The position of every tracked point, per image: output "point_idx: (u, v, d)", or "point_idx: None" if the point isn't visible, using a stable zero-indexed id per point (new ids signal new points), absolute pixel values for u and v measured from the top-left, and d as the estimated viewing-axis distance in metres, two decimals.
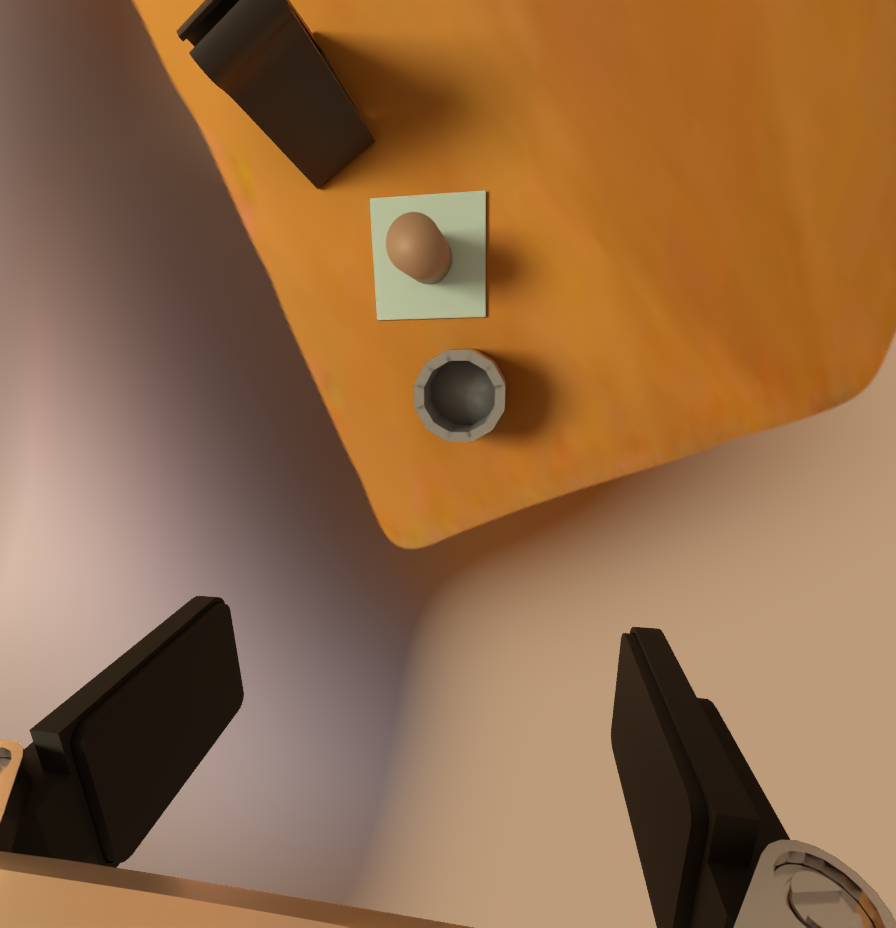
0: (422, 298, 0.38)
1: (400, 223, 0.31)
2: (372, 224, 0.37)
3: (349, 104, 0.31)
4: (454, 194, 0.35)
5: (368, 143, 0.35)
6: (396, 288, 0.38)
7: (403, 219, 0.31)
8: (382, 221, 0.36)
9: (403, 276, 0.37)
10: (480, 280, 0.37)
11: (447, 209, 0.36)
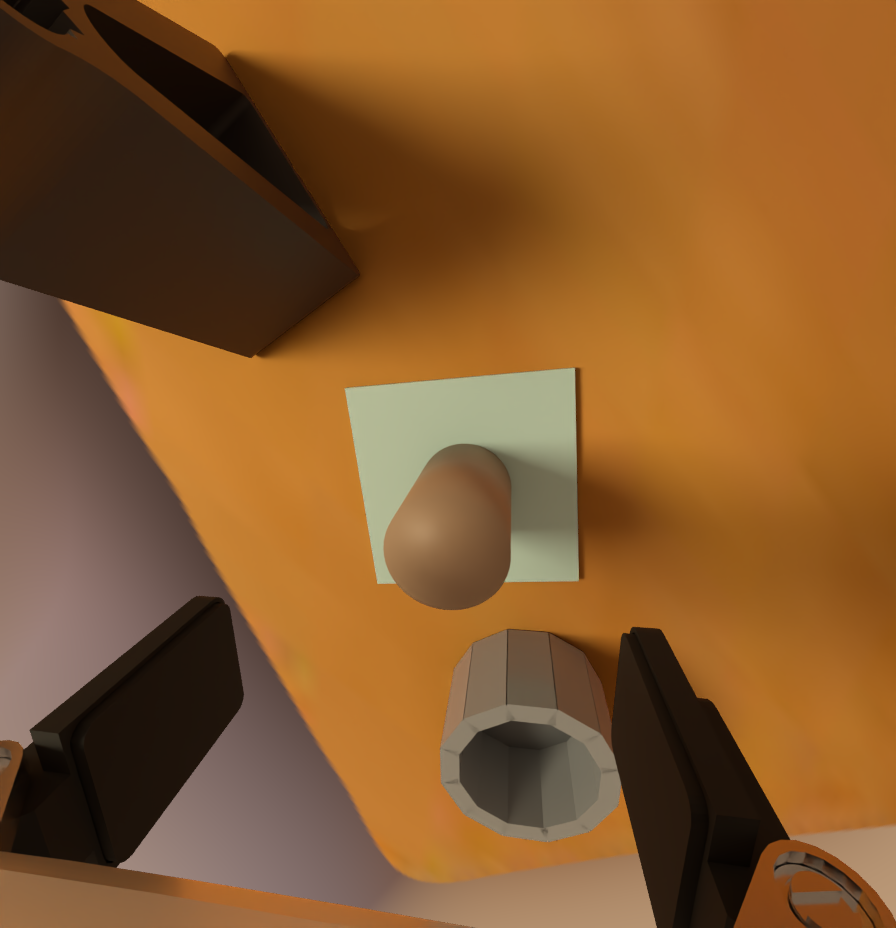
0: None
1: (413, 516, 0.13)
2: (355, 432, 0.19)
3: (297, 230, 0.14)
4: (511, 377, 0.18)
5: (347, 282, 0.17)
6: None
7: (420, 509, 0.13)
8: (372, 427, 0.19)
9: None
10: (568, 523, 0.19)
11: (498, 403, 0.18)
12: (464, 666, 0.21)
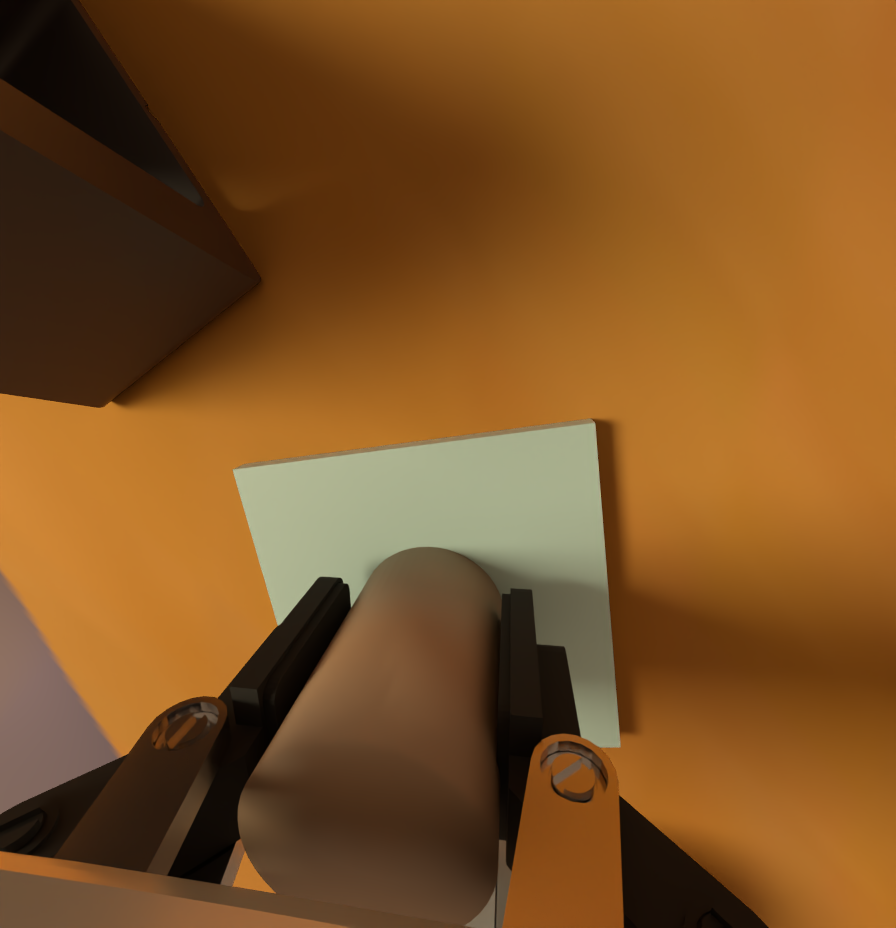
0: None
1: (289, 777, 0.06)
2: (255, 534, 0.12)
3: (94, 193, 0.07)
4: (490, 441, 0.11)
5: (237, 292, 0.11)
6: None
7: (299, 765, 0.06)
8: (281, 525, 0.12)
9: None
10: (598, 662, 0.12)
11: (473, 484, 0.11)
12: None
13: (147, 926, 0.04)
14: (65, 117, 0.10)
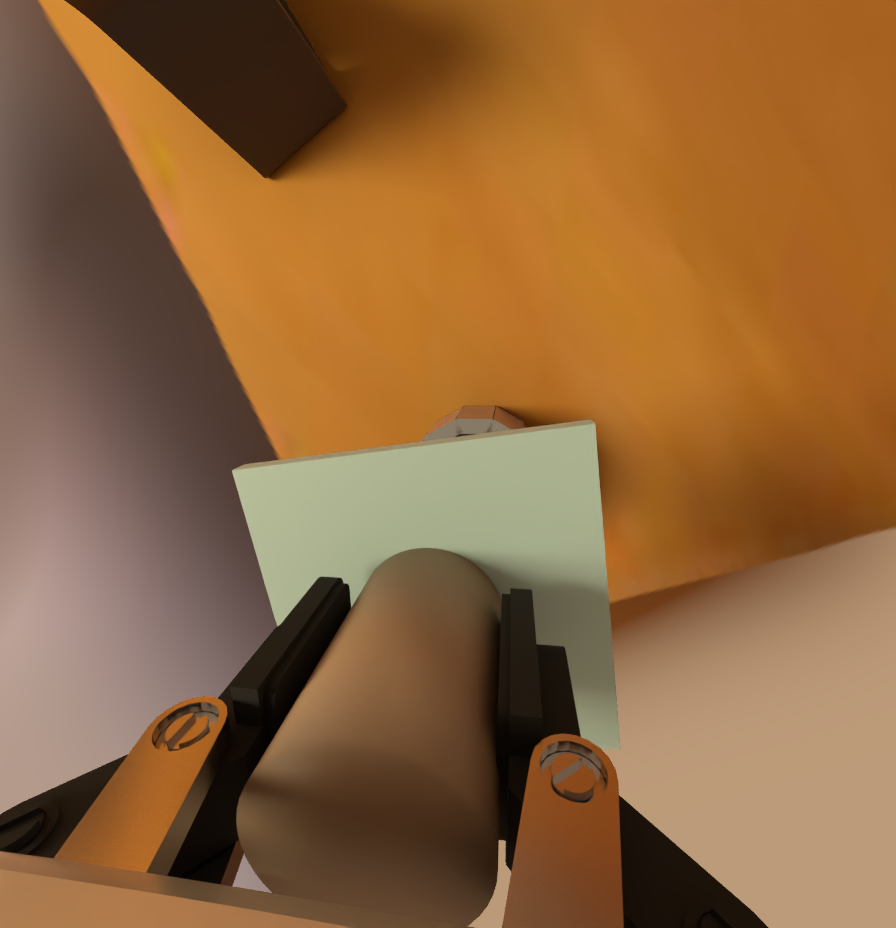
0: None
1: (287, 780, 0.06)
2: (255, 535, 0.12)
3: (302, 43, 0.20)
4: (490, 442, 0.11)
5: (337, 109, 0.23)
6: None
7: (298, 767, 0.06)
8: (280, 526, 0.12)
9: None
10: (597, 664, 0.12)
11: (472, 485, 0.11)
12: None
13: (147, 926, 0.04)
14: None
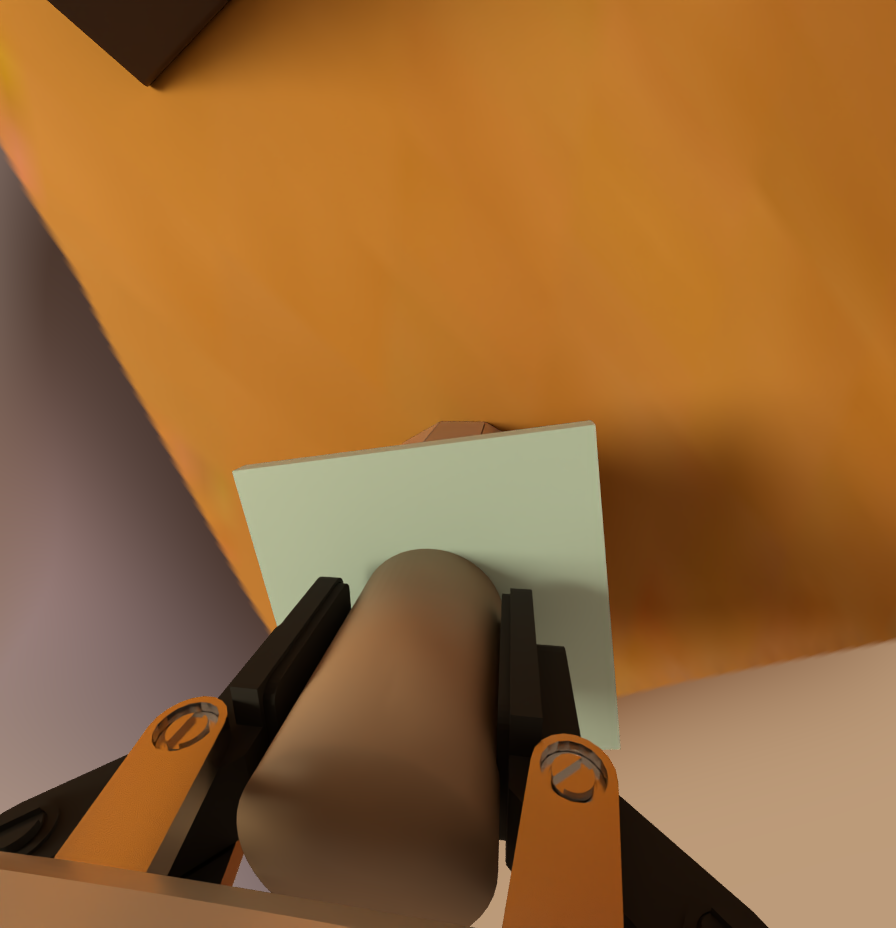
0: None
1: (288, 781, 0.06)
2: (255, 536, 0.12)
3: None
4: (490, 443, 0.11)
5: None
6: None
7: (298, 769, 0.06)
8: (281, 527, 0.12)
9: None
10: (598, 664, 0.12)
11: (472, 486, 0.11)
12: None
13: (147, 926, 0.04)
14: None
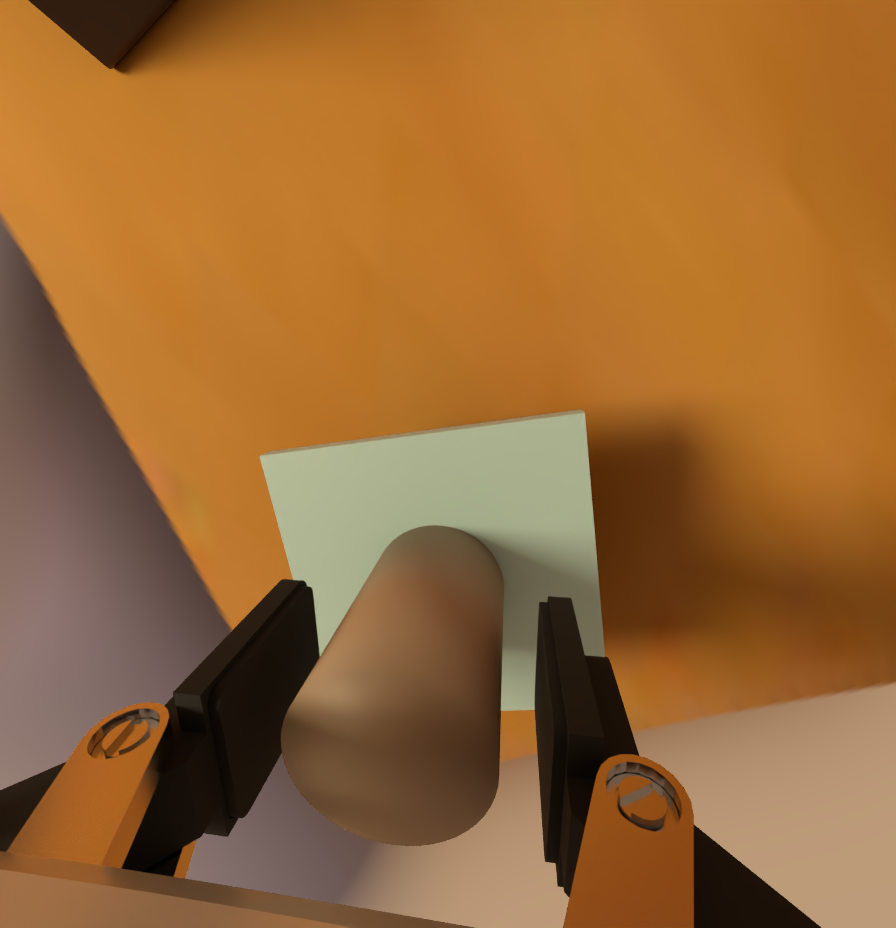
0: None
1: (325, 702, 0.08)
2: (279, 515, 0.14)
3: None
4: (491, 429, 0.12)
5: None
6: None
7: (334, 690, 0.08)
8: (303, 507, 0.14)
9: None
10: (588, 630, 0.13)
11: (476, 468, 0.12)
12: None
13: (148, 926, 0.04)
14: None
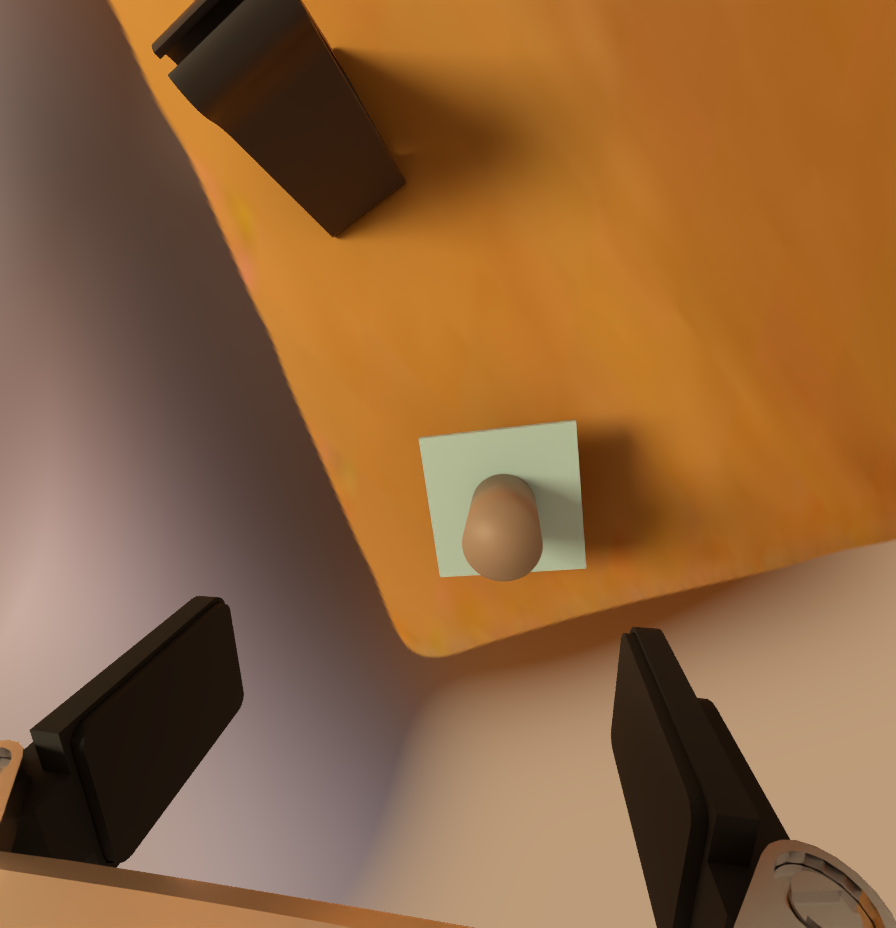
0: None
1: (481, 521, 0.22)
2: (425, 468, 0.28)
3: (378, 140, 0.25)
4: (533, 428, 0.26)
5: (398, 185, 0.28)
6: None
7: (485, 516, 0.22)
8: (437, 464, 0.28)
9: None
10: (576, 526, 0.27)
11: (525, 446, 0.27)
12: None
13: (147, 926, 0.04)
14: None
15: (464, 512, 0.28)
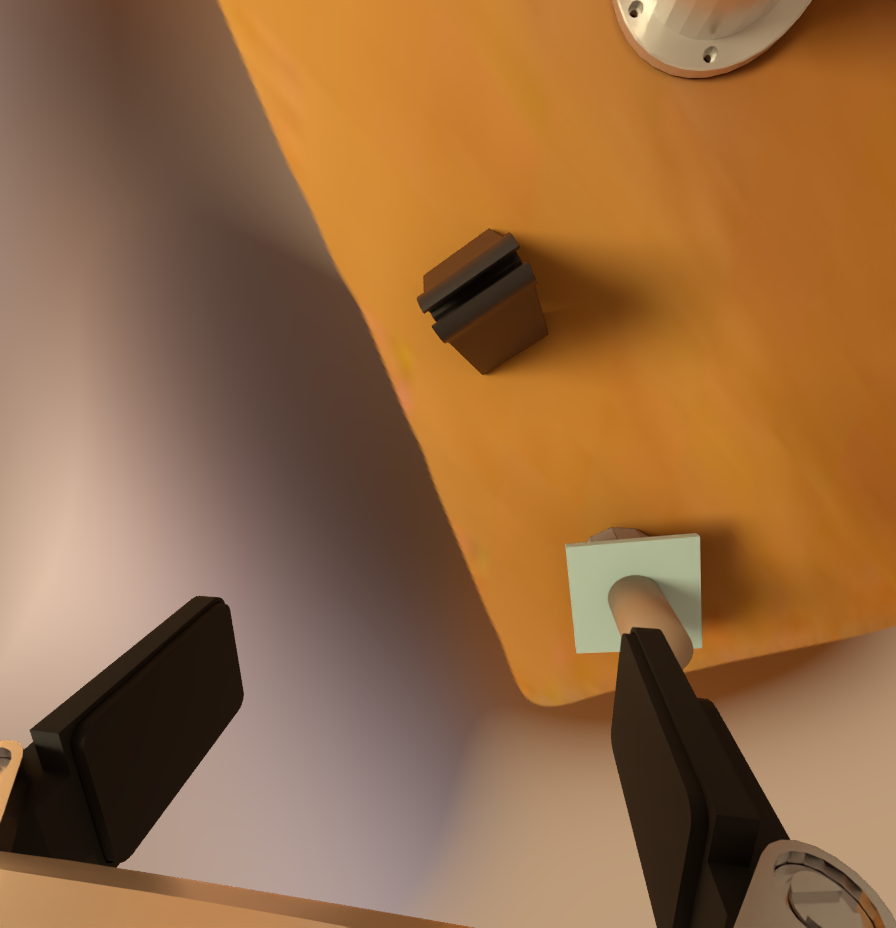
0: None
1: None
2: (570, 569, 0.34)
3: (542, 319, 0.31)
4: (663, 540, 0.32)
5: (542, 337, 0.34)
6: (598, 625, 0.35)
7: None
8: (581, 567, 0.34)
9: (606, 614, 0.35)
10: (695, 616, 0.34)
11: (655, 554, 0.33)
12: None
13: (147, 926, 0.04)
14: None
15: (601, 603, 0.35)
